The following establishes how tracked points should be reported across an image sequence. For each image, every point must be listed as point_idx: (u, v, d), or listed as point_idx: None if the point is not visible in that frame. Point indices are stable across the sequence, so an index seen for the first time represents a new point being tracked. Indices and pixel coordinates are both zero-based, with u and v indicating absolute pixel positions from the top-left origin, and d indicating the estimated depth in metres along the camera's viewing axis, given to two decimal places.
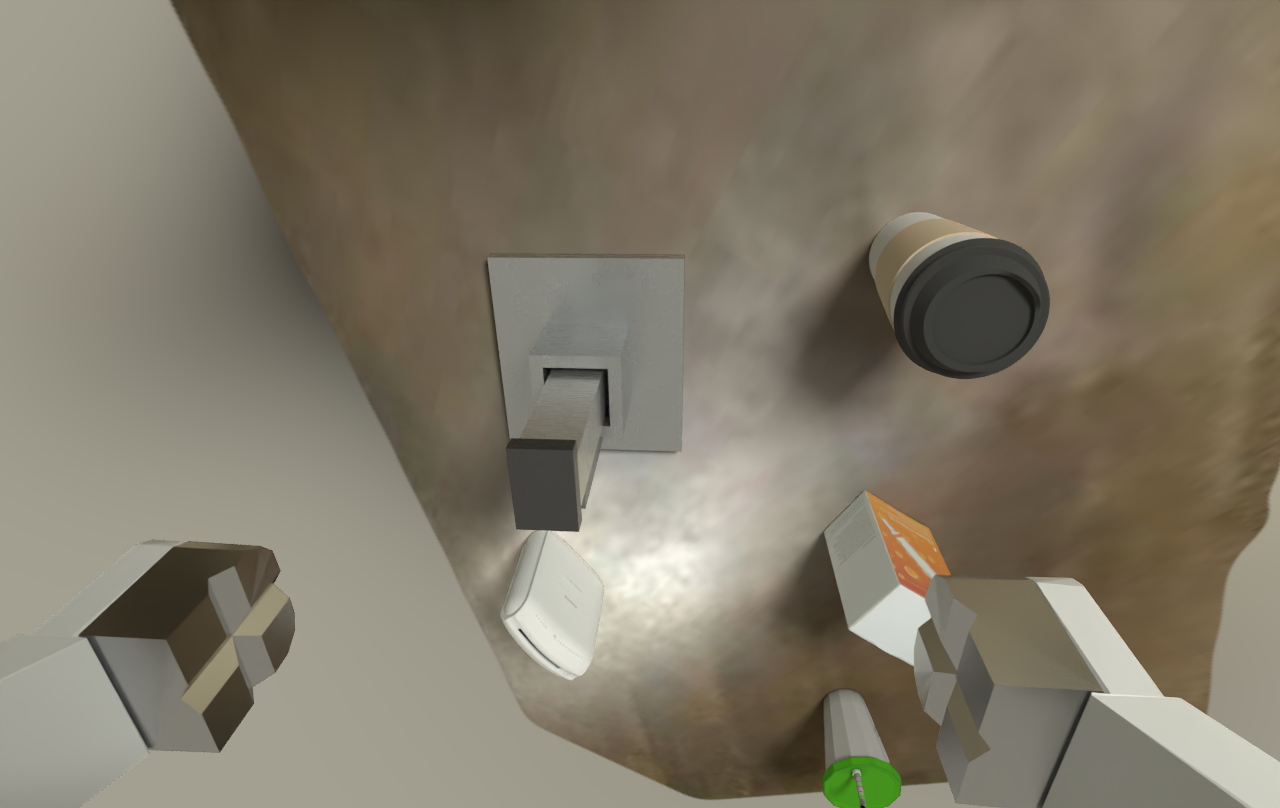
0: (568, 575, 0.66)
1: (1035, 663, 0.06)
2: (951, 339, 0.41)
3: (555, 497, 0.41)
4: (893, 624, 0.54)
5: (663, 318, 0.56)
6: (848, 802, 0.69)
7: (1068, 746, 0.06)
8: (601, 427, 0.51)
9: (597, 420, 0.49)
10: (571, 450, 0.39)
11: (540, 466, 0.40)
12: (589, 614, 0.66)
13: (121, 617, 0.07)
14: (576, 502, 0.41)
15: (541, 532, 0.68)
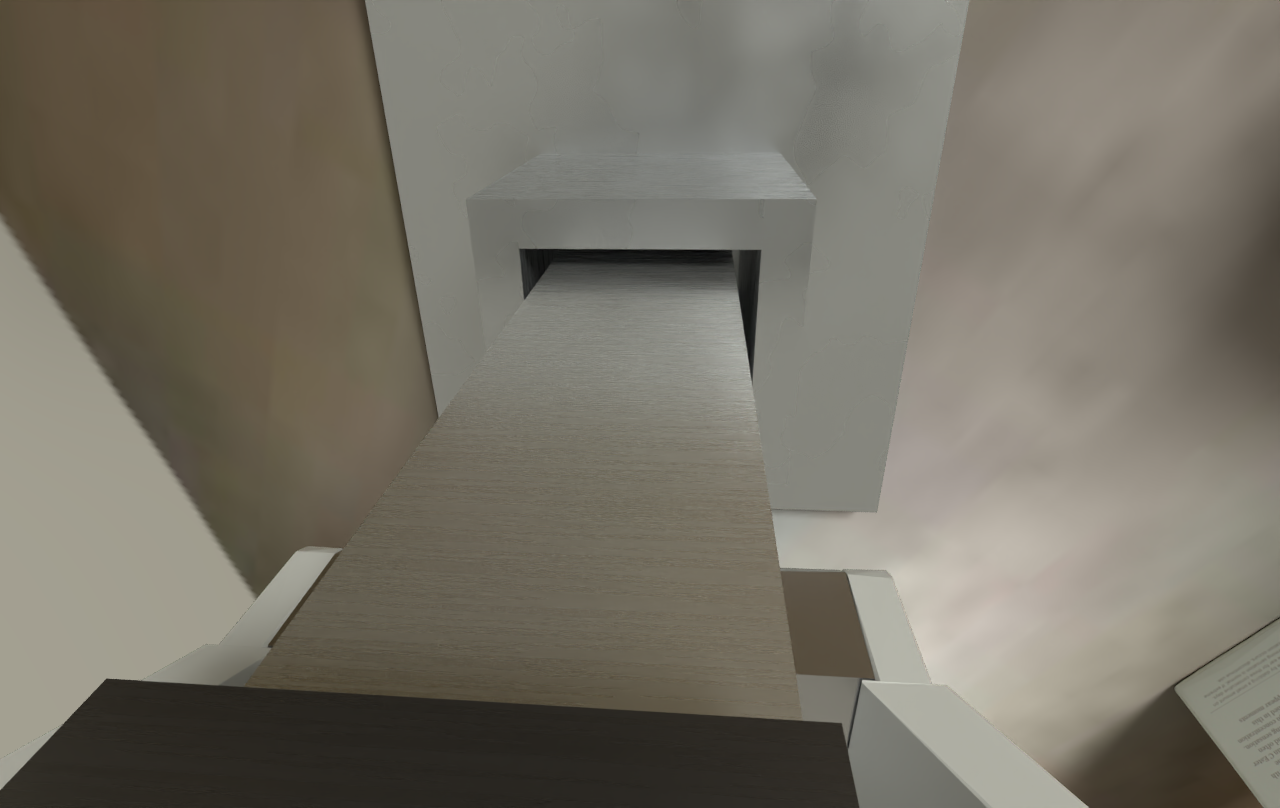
0: None
1: (818, 652, 0.06)
2: None
3: None
4: None
5: (885, 136, 0.19)
6: None
7: (852, 733, 0.06)
8: None
9: None
10: None
11: None
12: None
13: None
14: None
15: None
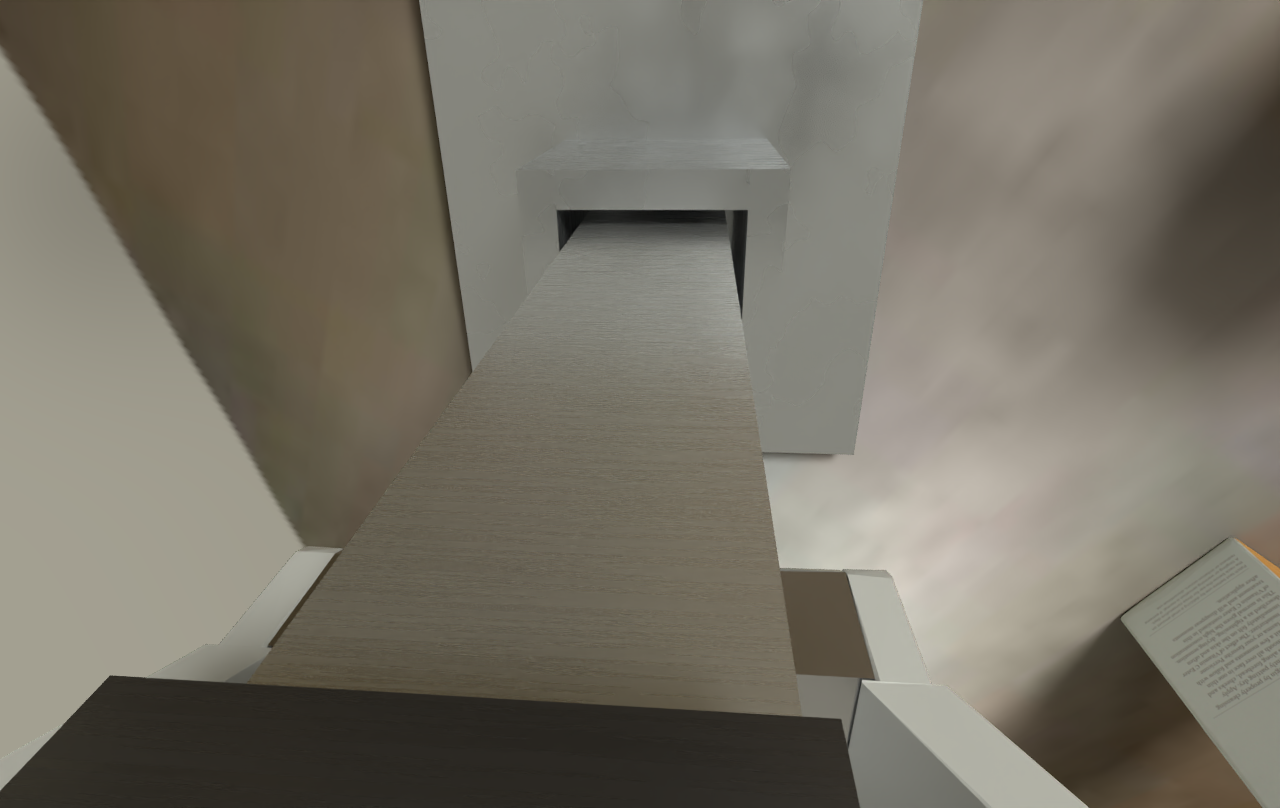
0: None
1: (818, 652, 0.06)
2: None
3: None
4: None
5: (854, 124, 0.22)
6: None
7: (852, 733, 0.06)
8: None
9: None
10: None
11: None
12: None
13: None
14: None
15: None
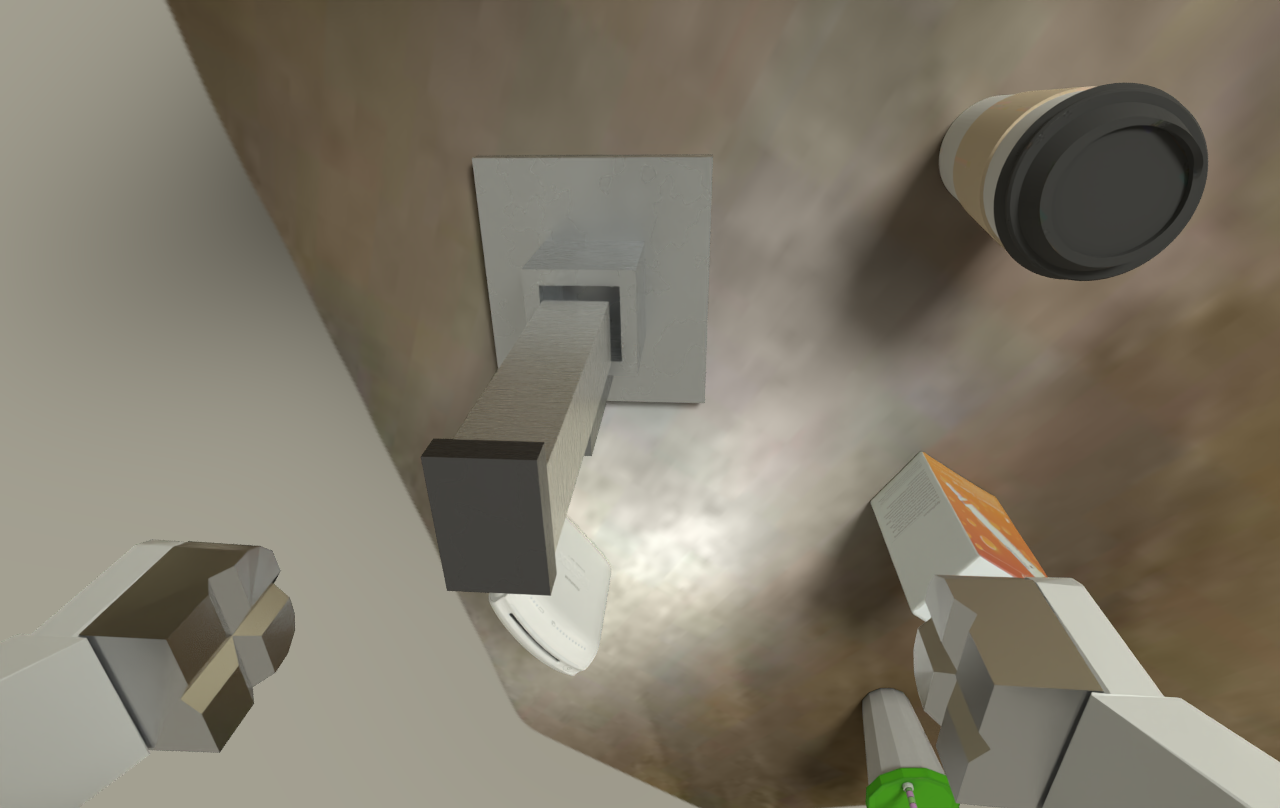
0: (570, 552, 0.56)
1: (1035, 663, 0.06)
2: (1075, 222, 0.31)
3: (509, 540, 0.24)
4: None
5: (686, 235, 0.46)
6: None
7: (1069, 746, 0.06)
8: (592, 423, 0.34)
9: (585, 412, 0.32)
10: (534, 460, 0.22)
11: (481, 487, 0.23)
12: (594, 598, 0.56)
13: (121, 618, 0.07)
14: (545, 548, 0.24)
15: None
